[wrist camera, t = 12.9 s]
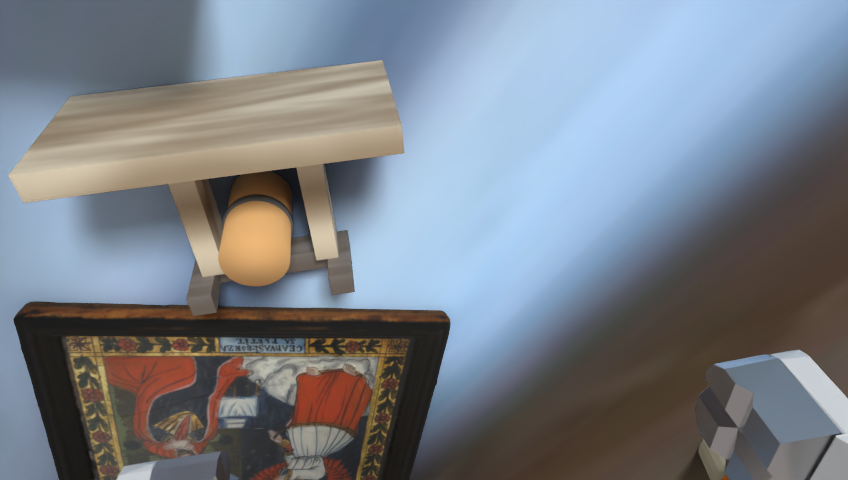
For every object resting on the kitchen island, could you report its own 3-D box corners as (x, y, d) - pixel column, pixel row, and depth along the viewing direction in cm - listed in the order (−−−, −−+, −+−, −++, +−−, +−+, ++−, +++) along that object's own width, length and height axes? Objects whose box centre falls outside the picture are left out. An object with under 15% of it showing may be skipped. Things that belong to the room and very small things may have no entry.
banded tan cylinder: (221, 173, 38) (207, 236, 33) (287, 164, 39) (283, 225, 33) (238, 225, 41) (227, 292, 35) (299, 217, 41) (298, 281, 36)
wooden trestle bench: (70, 96, 34) (8, 175, 27) (382, 60, 36) (401, 125, 29) (149, 275, 42) (118, 372, 35) (400, 239, 44) (419, 325, 37)
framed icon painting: (423, 526, 70) (426, 551, 67) (100, 564, 64) (92, 592, 62) (450, 271, 48) (457, 294, 45) (-36, 295, 42) (-56, 322, 40)
